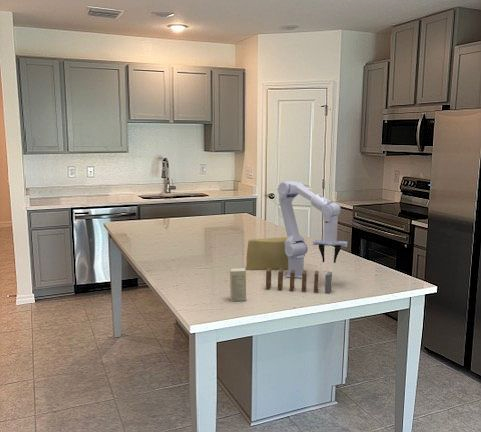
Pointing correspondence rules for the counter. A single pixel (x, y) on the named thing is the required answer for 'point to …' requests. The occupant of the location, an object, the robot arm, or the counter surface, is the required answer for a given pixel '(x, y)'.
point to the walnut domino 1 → (268, 279)
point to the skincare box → (238, 284)
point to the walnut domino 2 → (280, 279)
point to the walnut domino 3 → (292, 279)
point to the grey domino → (328, 282)
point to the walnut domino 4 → (304, 280)
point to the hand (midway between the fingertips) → (329, 262)
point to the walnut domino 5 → (316, 281)
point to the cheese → (266, 254)
